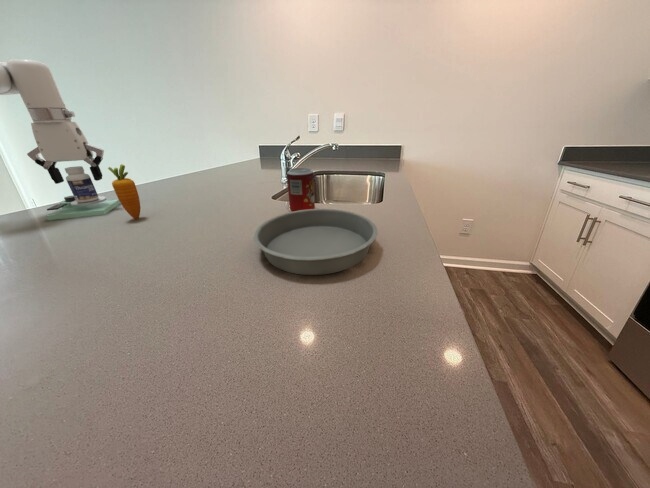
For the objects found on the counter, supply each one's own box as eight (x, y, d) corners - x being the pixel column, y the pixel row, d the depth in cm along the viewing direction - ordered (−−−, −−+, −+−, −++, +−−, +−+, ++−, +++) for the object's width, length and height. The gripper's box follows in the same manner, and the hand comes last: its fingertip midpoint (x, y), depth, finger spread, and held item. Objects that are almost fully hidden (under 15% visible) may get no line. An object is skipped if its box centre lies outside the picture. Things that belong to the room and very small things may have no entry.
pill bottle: (80, 203, 75) (64, 169, 71) (73, 201, 78) (58, 168, 74) (102, 199, 79) (88, 166, 75) (95, 196, 82) (81, 165, 78)
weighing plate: (65, 207, 74) (64, 205, 74) (80, 199, 81) (79, 198, 81) (99, 204, 76) (98, 202, 76) (111, 196, 84) (110, 195, 83)
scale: (46, 220, 74) (40, 210, 72) (70, 207, 84) (66, 198, 83) (105, 214, 77) (101, 204, 76) (121, 202, 88) (117, 194, 87)
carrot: (122, 221, 71) (99, 165, 64) (139, 215, 75) (120, 162, 68) (134, 223, 69) (112, 166, 63) (151, 217, 73) (132, 163, 67)
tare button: (64, 203, 80) (61, 198, 79) (69, 200, 82) (67, 195, 81) (75, 202, 80) (73, 197, 80) (80, 199, 83) (78, 195, 82)
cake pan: (264, 228, 64) (261, 211, 62) (361, 222, 66) (362, 205, 64) (246, 286, 42) (241, 262, 40) (393, 275, 44) (395, 252, 42)
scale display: (47, 210, 72) (46, 209, 72) (57, 205, 76) (57, 204, 76) (57, 209, 73) (57, 208, 73) (67, 204, 77) (67, 203, 77)
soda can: (313, 217, 70) (310, 171, 64) (287, 217, 71) (283, 172, 65) (316, 209, 76) (314, 166, 71) (293, 209, 77) (289, 167, 71)
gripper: (95, 115, 74) (118, 176, 81) (20, 117, 69) (51, 181, 77) (82, 115, 67) (108, 181, 75) (-2, 117, 63) (34, 186, 71)
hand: (79, 181), depth 76 cm, fingers open, 9 cm apart
